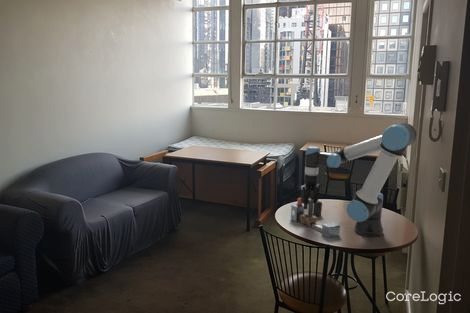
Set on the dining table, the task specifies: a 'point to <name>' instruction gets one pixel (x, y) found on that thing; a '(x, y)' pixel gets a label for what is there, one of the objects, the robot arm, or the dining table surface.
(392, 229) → the dining table surface
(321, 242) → the dining table surface
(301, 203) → the plunger
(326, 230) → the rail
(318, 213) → the camera
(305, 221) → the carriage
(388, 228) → the dining table surface
